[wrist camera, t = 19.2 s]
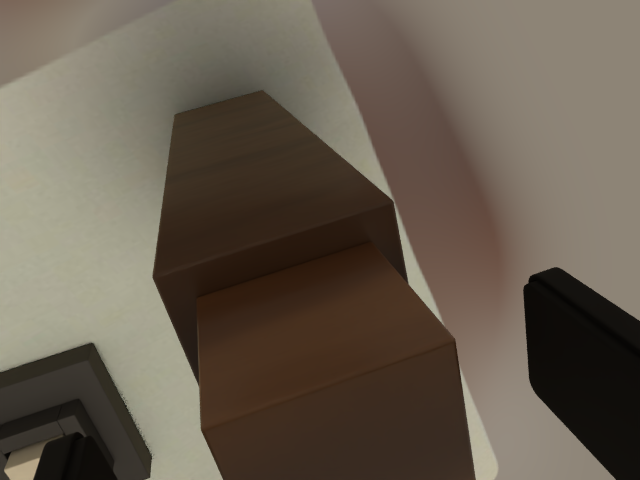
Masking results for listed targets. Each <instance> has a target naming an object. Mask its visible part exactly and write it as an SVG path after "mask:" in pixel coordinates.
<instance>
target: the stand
mask: <svg viewBox="0 0 640 480" xmlns="http://www.w3.org/2000/svg"><path fill="white" fill-rule="evenodd" d="M368 242H372V243H373V244H374V245H375V246H376V247H377V248H378V250H379V251H380V252H381V253H382V254H383V255H384V257H385V258H386V259H387V260H388V261H389V262H390V264H391V265H392V266H393V267H394V268H395V269H396V271H397V272H398V273H399V274H400V275H401V276H402V278H403V279H404V280H405V281H406V282H407V283H408V278H407V273H406V268H405V262H404V257H403V251H402V246H401V240H400V235H399V229H398V224H397V218H396V213H395V208H394V202H393V201H392V199H390V198H389V197H388V196H387V195H386V194H385V193H383V192H382V191H381V190H380V189H379V188H377V187H376V186H375V185H374V184H373V183H372V182H370V181H369V180H368V179H367V178H366V177H365V176H363V175H362V174H361V173H360V172H359V171H357V170H356V169H355V168H354V167H353V166H352V165H350V164H349V163H348V162H347V161H346V160H344V159H343V158H342V157H341V156H340V155H339V154H337V153H336V152H335V151H334V150H333V149H331V148H330V147H329V146H328V145H327V144H326V143H324V142H323V141H322V140H321V139H320V138H319V137H317V136H316V135H315V134H314V133H313V132H311V131H310V130H309V129H308V128H307V127H306V126H304V125H303V124H302V123H301V122H300V121H298V120H297V119H296V118H295V117H294V116H293V115H291V114H290V113H289V112H288V111H287V110H285V109H284V108H283V107H282V106H281V105H280V104H278V103H277V102H276V101H275V100H274V99H272V98H271V97H270V96H269V95H268V94H267V93H265V92H264V91H263V90H261V91H258V92H254V93H250V94H247V95H243V96H240V97H236V98H232V99H229V100H225V101H222V102H218V103H215V104H211V105H207V106H204V107H200V108H197V109H193V110H189V111H186V112H182V113H179V114H175V115H174V122H173V129H172V137H171V144H170V151H169V159H168V166H167V173H166V181H165V188H164V196H163V203H162V210H161V218H160V225H159V232H158V240H157V247H156V254H155V262H154V269H153V280H154V282H155V284H156V287H157V289H158V291H159V294H160V296H161V298H162V301H163V303H164V305H165V308H166V310H167V313H168V315H169V317H170V320H171V322H172V324H173V327H174V329H175V331H176V334H177V336H178V338H179V341H180V343H181V345H182V348H183V350H184V352H185V355H186V357H187V359H188V362H189V364H190V366H191V369H192V371H193V373H194V376H195V378H196V380H197V383H198V385H199V364H198V336H197V307H196V299H197V298H198V297H201V296H204V295H207V294H210V293H213V292H216V291H219V290H222V289H225V288H228V287H232V286H235V285H238V284H241V283H244V282H247V281H250V280H253V279H256V278H259V277H263V276H266V275H269V274H272V273H275V272H278V271H281V270H284V269H287V268H290V267H294V266H297V265H300V264H303V263H306V262H309V261H312V260H315V259H318V258H321V257H325V256H328V255H331V254H334V253H337V252H340V251H343V250H346V249H349V248H353V247H356V246H359V245H362V244H365V243H368ZM408 285H409V284H408Z"/></svg>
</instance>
